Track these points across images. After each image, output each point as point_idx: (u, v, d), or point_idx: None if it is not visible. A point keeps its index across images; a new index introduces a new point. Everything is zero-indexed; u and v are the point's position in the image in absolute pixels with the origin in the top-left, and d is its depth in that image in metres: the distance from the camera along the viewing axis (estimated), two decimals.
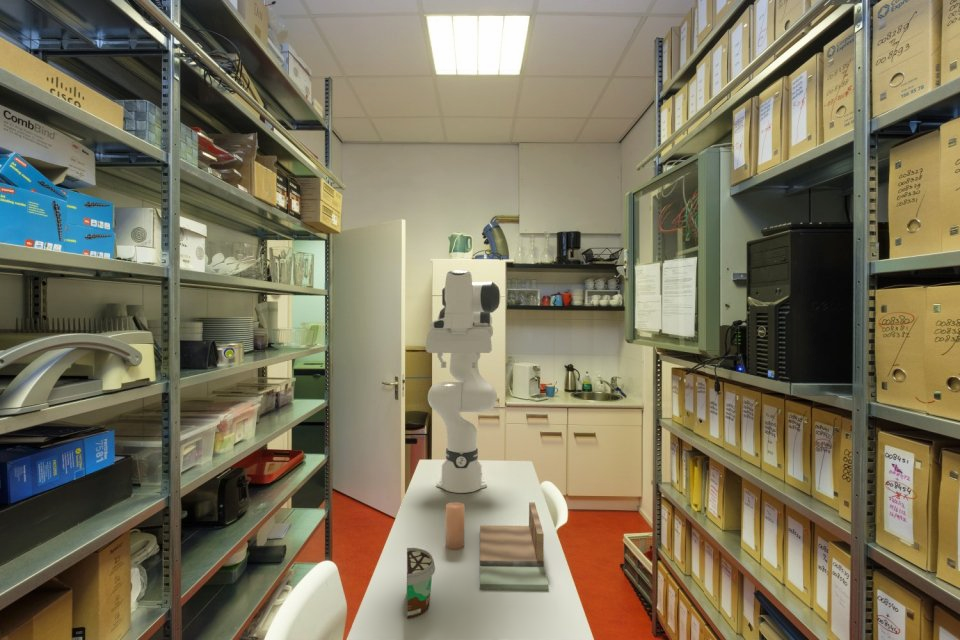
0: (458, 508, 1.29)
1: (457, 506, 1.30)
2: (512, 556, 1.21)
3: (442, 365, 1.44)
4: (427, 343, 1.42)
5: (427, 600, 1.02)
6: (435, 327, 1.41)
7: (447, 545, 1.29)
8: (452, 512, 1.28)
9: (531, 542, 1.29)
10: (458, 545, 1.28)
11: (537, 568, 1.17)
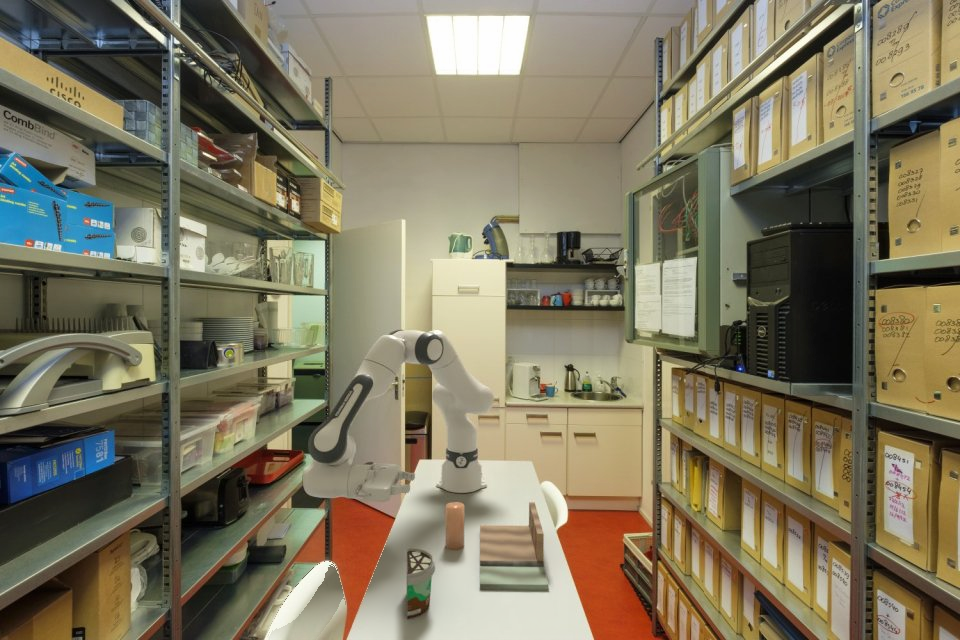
0: (458, 508, 1.29)
1: (457, 506, 1.30)
2: (512, 556, 1.21)
3: None
4: None
5: (427, 600, 1.02)
6: None
7: (447, 545, 1.29)
8: (452, 512, 1.28)
9: (531, 542, 1.29)
10: (458, 545, 1.28)
11: (537, 568, 1.17)
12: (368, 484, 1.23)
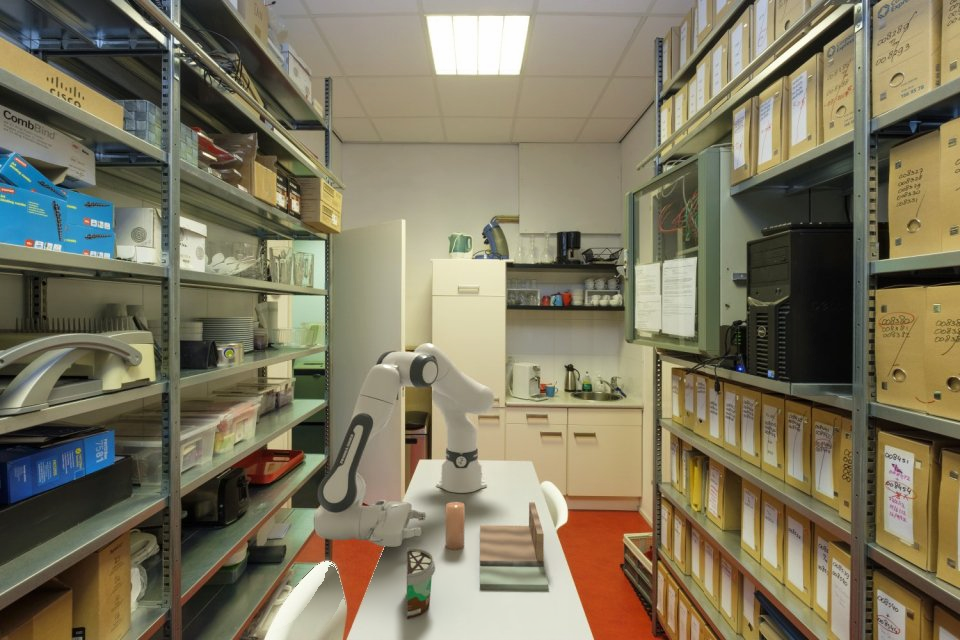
0: (458, 507, 1.29)
1: (457, 506, 1.30)
2: (512, 556, 1.21)
3: None
4: None
5: (427, 600, 1.02)
6: None
7: (447, 545, 1.29)
8: (452, 512, 1.28)
9: (531, 542, 1.29)
10: (458, 545, 1.28)
11: (537, 568, 1.17)
12: (379, 528, 1.24)
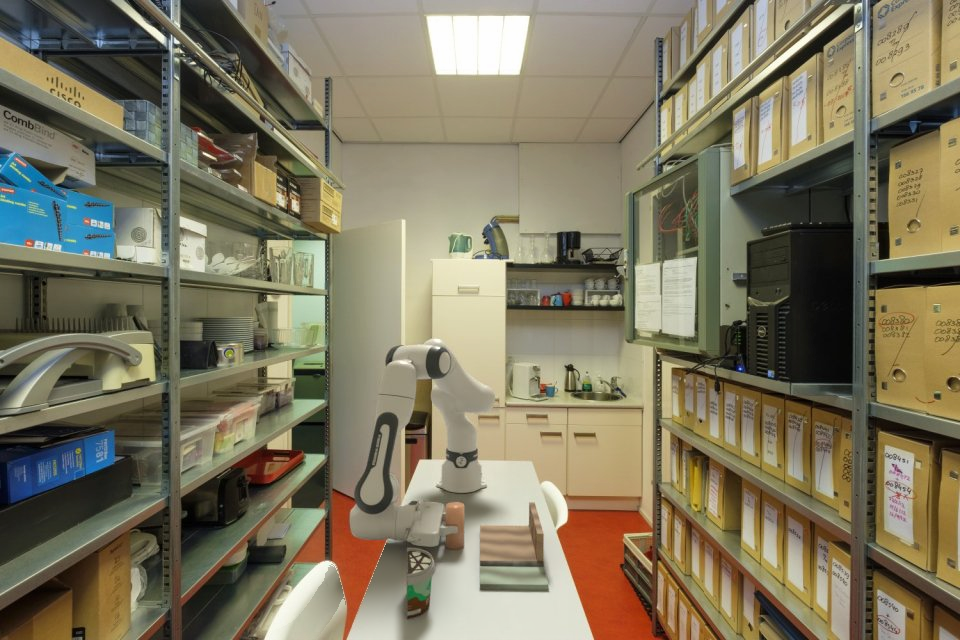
0: (458, 507, 1.29)
1: (457, 506, 1.30)
2: (512, 556, 1.21)
3: None
4: None
5: (427, 600, 1.02)
6: None
7: (447, 545, 1.29)
8: (452, 512, 1.28)
9: (531, 542, 1.29)
10: (458, 545, 1.29)
11: (537, 568, 1.17)
12: (416, 528, 1.24)
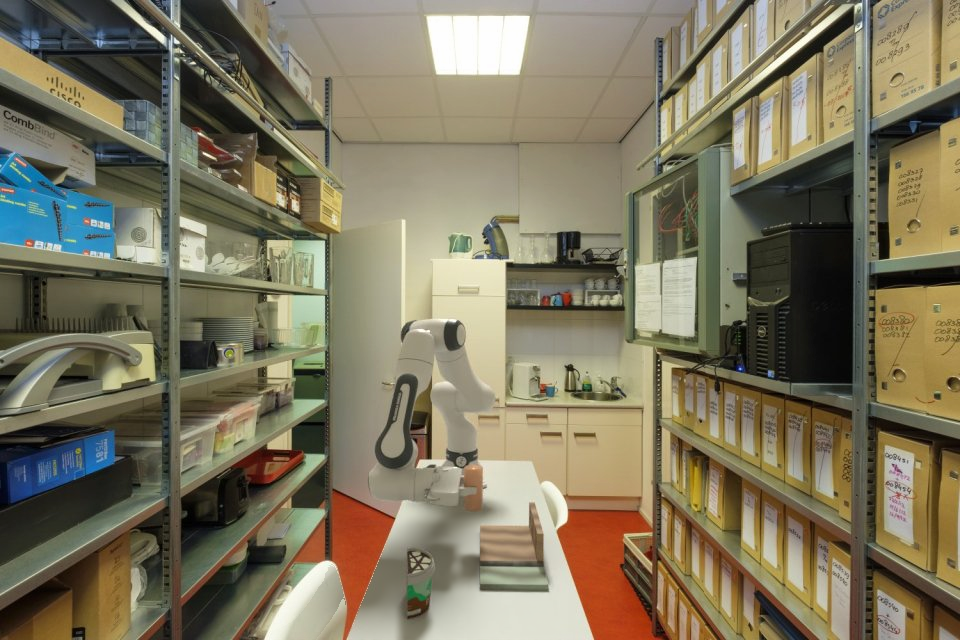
0: (476, 469, 1.29)
1: (475, 468, 1.30)
2: (512, 556, 1.21)
3: None
4: None
5: (427, 600, 1.02)
6: None
7: (466, 507, 1.29)
8: (471, 474, 1.28)
9: (531, 542, 1.29)
10: (477, 506, 1.28)
11: (537, 568, 1.17)
12: (436, 488, 1.23)
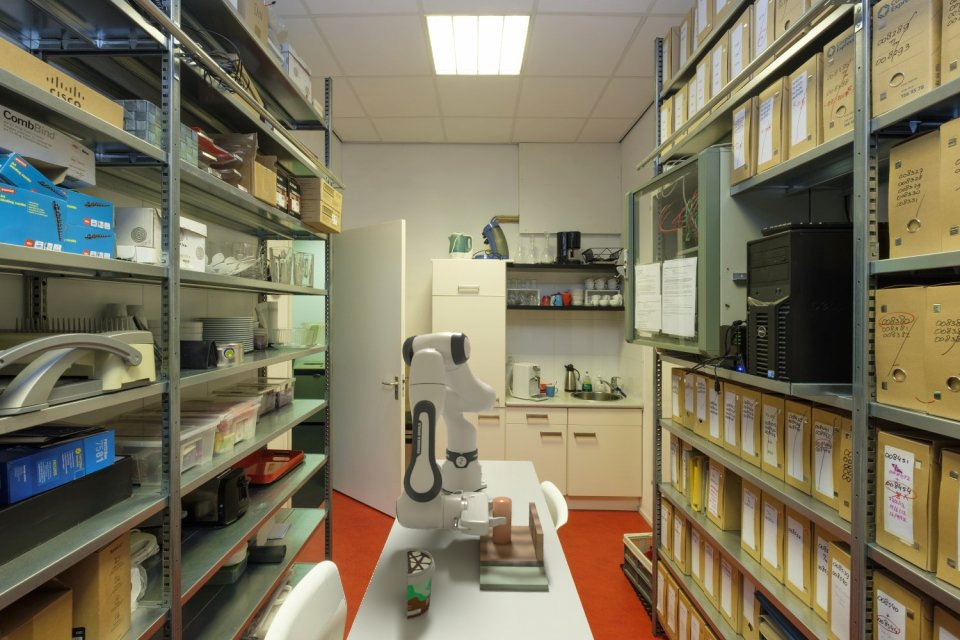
0: (506, 502, 1.28)
1: (504, 501, 1.29)
2: (512, 556, 1.21)
3: None
4: None
5: (427, 600, 1.02)
6: None
7: (495, 540, 1.28)
8: (500, 507, 1.27)
9: (531, 542, 1.29)
10: (506, 540, 1.28)
11: (537, 568, 1.17)
12: (466, 517, 1.23)
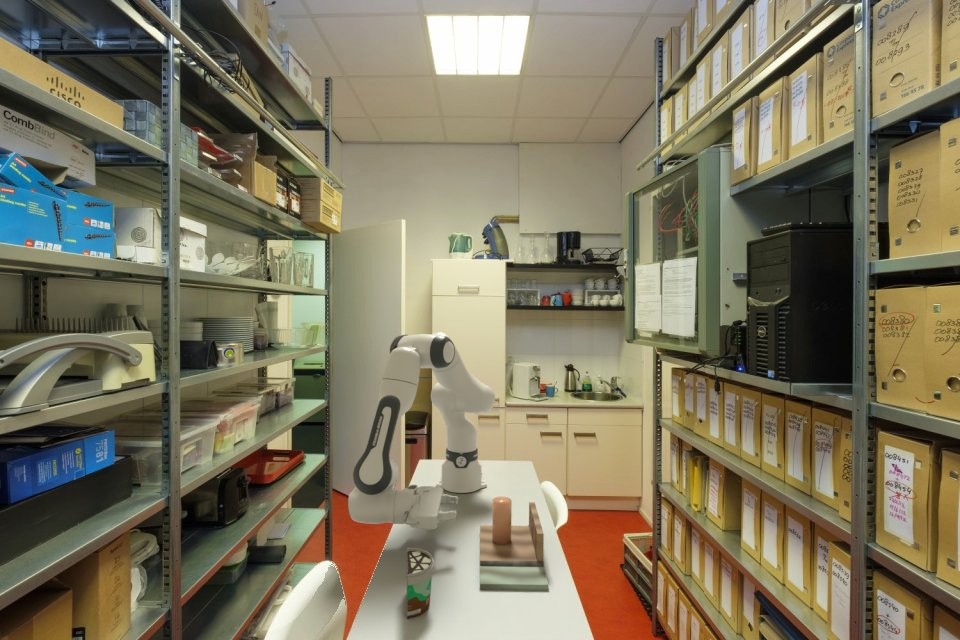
0: (505, 502, 1.28)
1: (504, 501, 1.29)
2: (512, 556, 1.21)
3: None
4: None
5: (427, 600, 1.02)
6: None
7: (495, 540, 1.28)
8: (500, 507, 1.27)
9: (531, 542, 1.29)
10: (506, 540, 1.28)
11: (537, 568, 1.17)
12: (415, 511, 1.23)
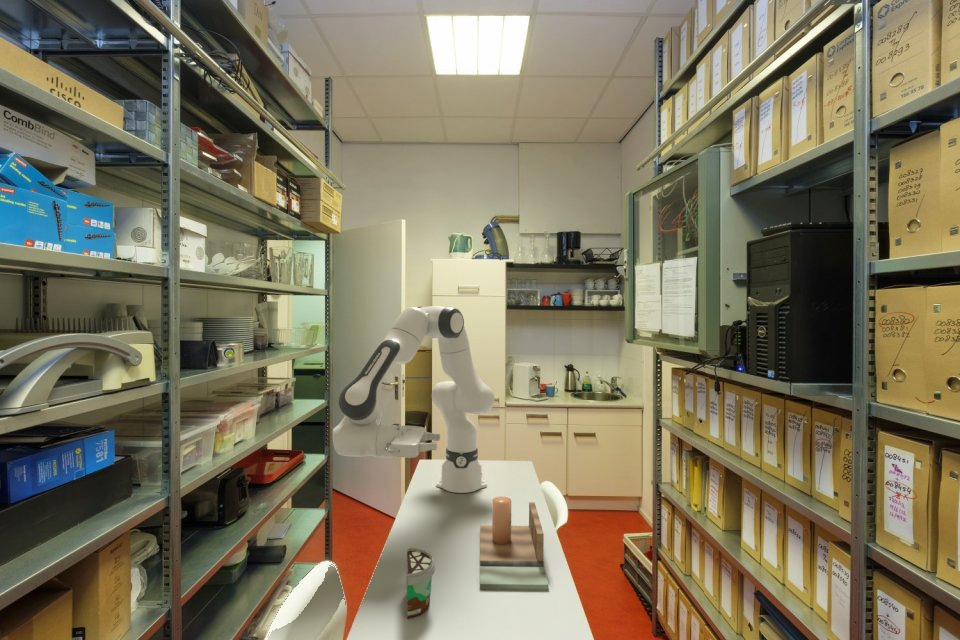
0: (505, 502, 1.28)
1: (504, 501, 1.29)
2: (512, 556, 1.21)
3: None
4: None
5: (427, 600, 1.02)
6: None
7: (494, 540, 1.28)
8: (500, 507, 1.27)
9: (531, 542, 1.29)
10: (506, 540, 1.27)
11: (537, 568, 1.17)
12: (396, 441, 1.26)
